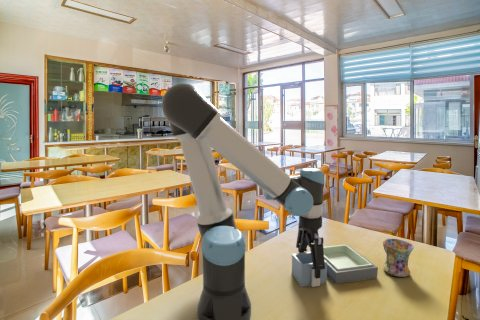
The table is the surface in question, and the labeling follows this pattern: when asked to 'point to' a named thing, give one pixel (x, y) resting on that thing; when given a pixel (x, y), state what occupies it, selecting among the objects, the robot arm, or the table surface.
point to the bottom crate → (352, 273)
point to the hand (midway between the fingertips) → (308, 277)
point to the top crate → (344, 258)
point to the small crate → (305, 269)
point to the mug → (397, 257)
